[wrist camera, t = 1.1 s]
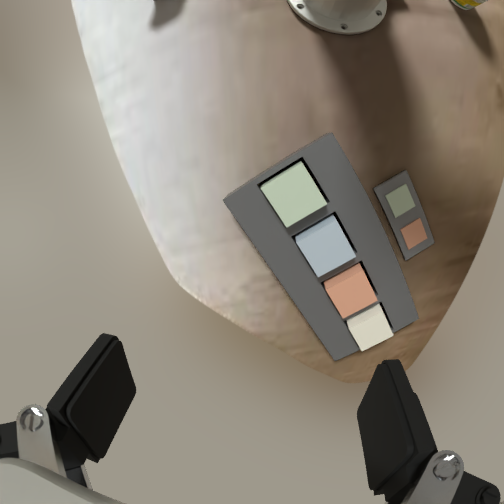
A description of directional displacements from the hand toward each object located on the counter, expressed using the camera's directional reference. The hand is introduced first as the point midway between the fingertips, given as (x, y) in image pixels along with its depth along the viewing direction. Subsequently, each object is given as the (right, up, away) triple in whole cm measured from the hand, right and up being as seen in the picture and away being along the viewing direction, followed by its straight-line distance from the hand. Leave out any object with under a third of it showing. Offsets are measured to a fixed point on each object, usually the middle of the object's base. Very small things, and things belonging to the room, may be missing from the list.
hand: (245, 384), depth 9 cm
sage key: (+5, +11, +22) cm, 25 cm away
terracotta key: (+13, 0, +26) cm, 29 cm away
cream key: (+17, -5, +28) cm, 33 cm away
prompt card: (+20, +9, +23) cm, 32 cm away
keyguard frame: (+11, +4, +26) cm, 29 cm away
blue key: (+9, +6, +24) cm, 26 cm away
